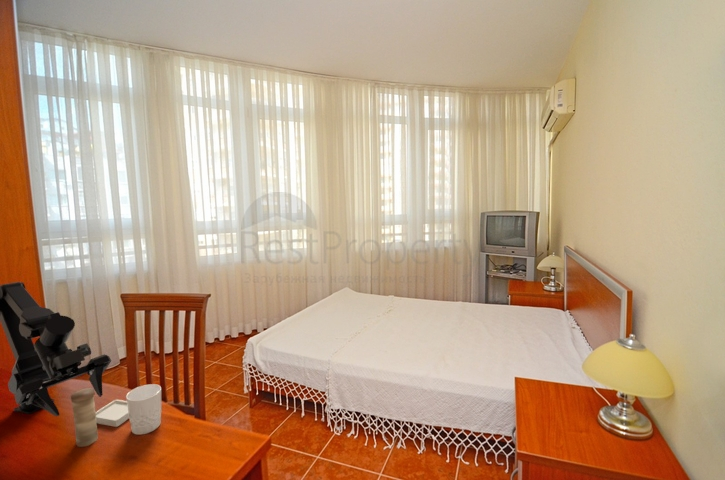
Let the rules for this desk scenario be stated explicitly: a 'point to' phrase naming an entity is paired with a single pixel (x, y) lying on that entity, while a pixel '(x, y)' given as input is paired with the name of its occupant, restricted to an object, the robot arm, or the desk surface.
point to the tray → (113, 413)
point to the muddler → (84, 416)
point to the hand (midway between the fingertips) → (80, 405)
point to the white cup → (144, 408)
